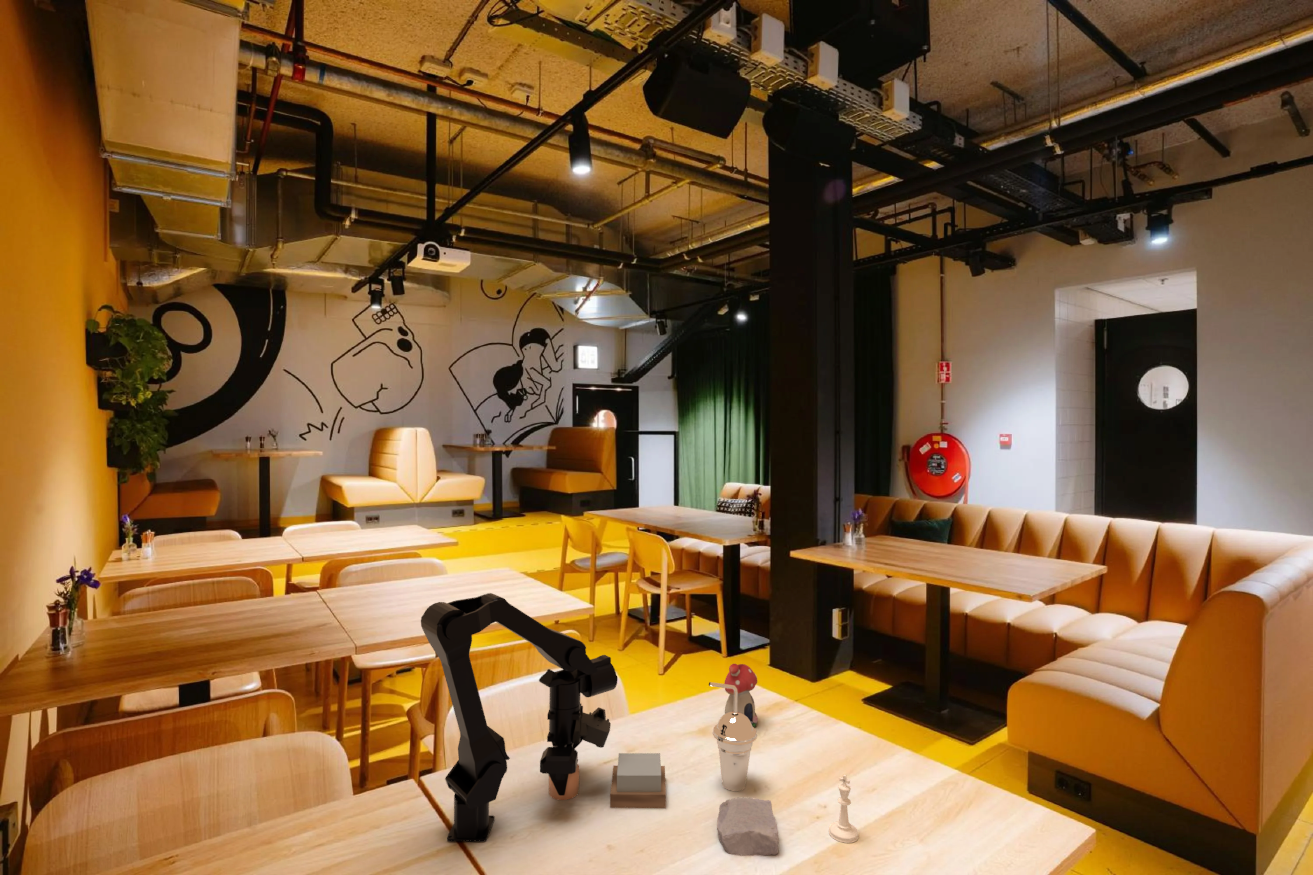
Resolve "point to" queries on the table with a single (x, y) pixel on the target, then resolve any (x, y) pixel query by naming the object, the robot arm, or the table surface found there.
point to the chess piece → (844, 817)
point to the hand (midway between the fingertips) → (563, 785)
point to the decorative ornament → (741, 691)
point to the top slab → (639, 772)
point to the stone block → (748, 827)
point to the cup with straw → (734, 744)
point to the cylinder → (571, 787)
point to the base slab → (637, 795)
